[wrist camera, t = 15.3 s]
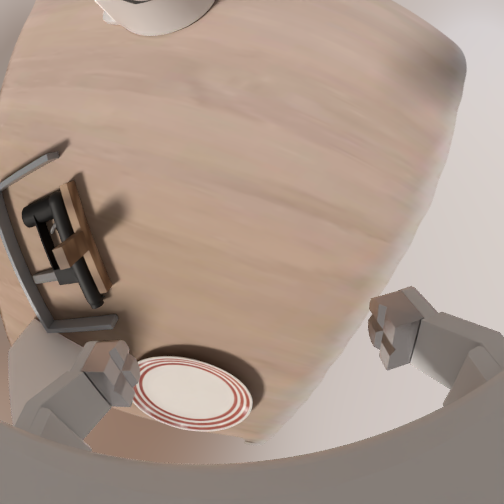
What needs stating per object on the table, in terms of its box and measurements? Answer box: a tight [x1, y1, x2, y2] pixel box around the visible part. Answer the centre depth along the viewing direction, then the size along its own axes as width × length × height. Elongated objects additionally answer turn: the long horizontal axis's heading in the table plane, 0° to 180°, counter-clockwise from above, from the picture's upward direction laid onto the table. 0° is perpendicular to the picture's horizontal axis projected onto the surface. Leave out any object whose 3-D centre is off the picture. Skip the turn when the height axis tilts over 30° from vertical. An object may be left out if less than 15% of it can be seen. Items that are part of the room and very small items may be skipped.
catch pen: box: [0, 152, 118, 333], centre depth 36 cm, size 30×18×3 cm, turn 11°
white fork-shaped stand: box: [8, 318, 83, 426], centre depth 37 cm, size 19×15×25 cm
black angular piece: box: [22, 191, 105, 309], centre depth 37 cm, size 3×20×16 cm
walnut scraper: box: [52, 180, 112, 294], centre depth 33 cm, size 18×2×8 cm, turn 11°
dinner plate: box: [132, 356, 253, 431], centre depth 50 cm, size 28×27×3 cm
